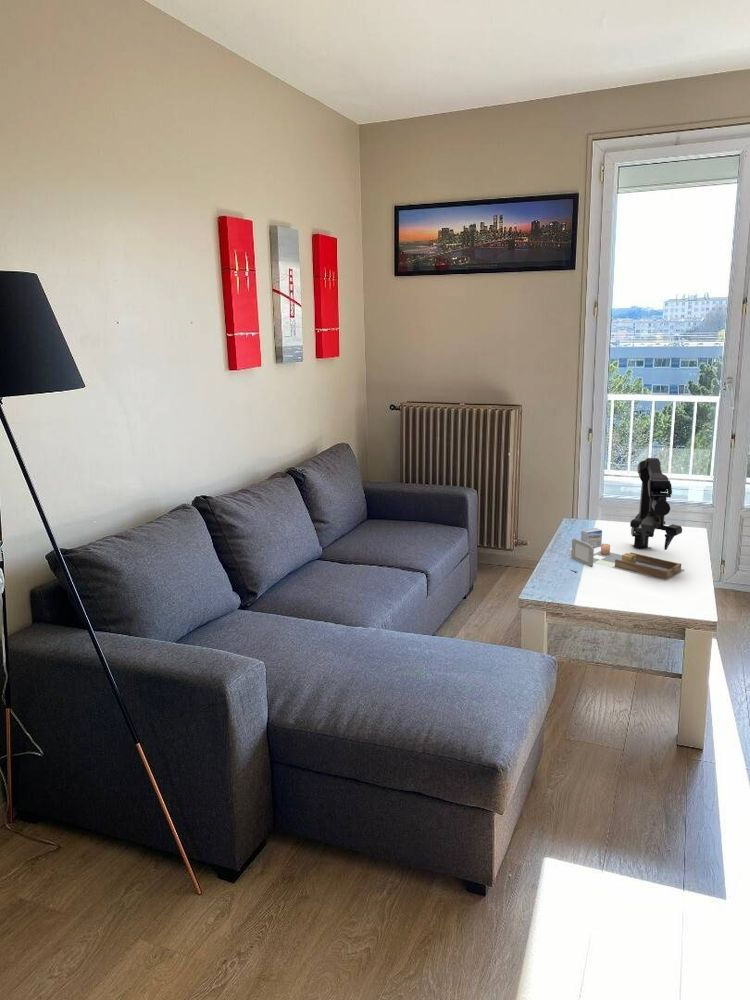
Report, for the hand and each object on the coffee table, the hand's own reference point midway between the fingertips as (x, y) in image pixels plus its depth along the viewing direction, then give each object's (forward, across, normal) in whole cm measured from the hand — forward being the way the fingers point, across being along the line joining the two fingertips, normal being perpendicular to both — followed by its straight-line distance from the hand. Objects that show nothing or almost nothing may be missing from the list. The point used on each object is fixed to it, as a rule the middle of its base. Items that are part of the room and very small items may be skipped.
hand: (654, 547), depth 295 cm
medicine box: (+11, -34, +11) cm, 37 cm away
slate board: (+11, -9, 0) cm, 14 cm away
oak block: (+10, -10, 0) cm, 14 cm away
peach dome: (+10, -24, +5) cm, 26 cm away
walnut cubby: (+9, -2, 0) cm, 10 cm away
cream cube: (+11, -33, -4) cm, 35 cm away
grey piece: (+11, -27, -14) cm, 32 cm away
